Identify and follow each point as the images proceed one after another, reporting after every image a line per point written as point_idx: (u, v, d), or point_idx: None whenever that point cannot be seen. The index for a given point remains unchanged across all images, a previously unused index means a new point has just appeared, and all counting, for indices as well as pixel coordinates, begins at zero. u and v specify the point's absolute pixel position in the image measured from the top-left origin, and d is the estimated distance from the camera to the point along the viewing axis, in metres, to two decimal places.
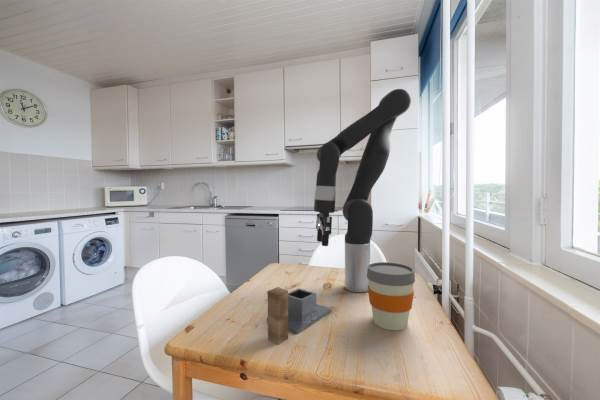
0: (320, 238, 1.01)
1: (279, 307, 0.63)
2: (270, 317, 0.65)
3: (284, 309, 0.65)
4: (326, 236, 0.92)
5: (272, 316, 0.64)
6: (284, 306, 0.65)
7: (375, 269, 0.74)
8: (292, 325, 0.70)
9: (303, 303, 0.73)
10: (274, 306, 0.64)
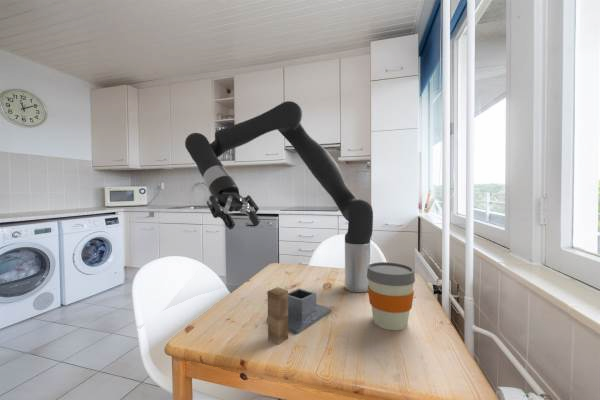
0: (254, 220, 0.76)
1: (279, 307, 0.63)
2: (270, 317, 0.65)
3: (284, 309, 0.65)
4: (223, 217, 0.70)
5: (272, 316, 0.64)
6: (284, 306, 0.65)
7: (375, 269, 0.74)
8: (292, 325, 0.70)
9: (303, 303, 0.73)
10: (274, 306, 0.64)
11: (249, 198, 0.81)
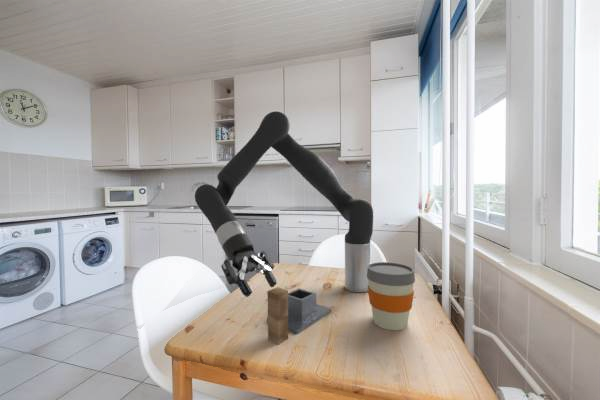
0: (270, 281, 0.72)
1: (279, 307, 0.63)
2: (270, 317, 0.65)
3: (284, 309, 0.65)
4: (239, 283, 0.66)
5: (272, 316, 0.64)
6: (284, 306, 0.65)
7: (375, 269, 0.74)
8: (292, 325, 0.70)
9: (303, 303, 0.73)
10: (274, 306, 0.64)
11: (264, 254, 0.77)
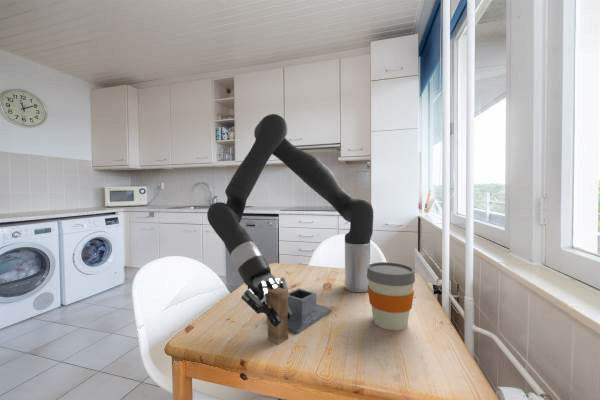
0: None
1: (279, 307, 0.63)
2: None
3: (284, 309, 0.65)
4: (267, 312, 0.63)
5: None
6: (284, 306, 0.65)
7: (375, 269, 0.74)
8: (292, 325, 0.70)
9: (303, 303, 0.73)
10: (274, 306, 0.64)
11: (282, 281, 0.72)
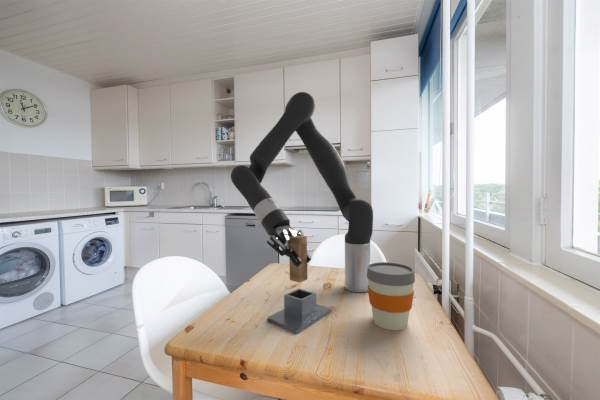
0: None
1: (300, 250, 0.72)
2: None
3: (304, 252, 0.74)
4: (290, 255, 0.72)
5: None
6: (304, 250, 0.74)
7: (375, 269, 0.74)
8: (292, 325, 0.70)
9: (303, 303, 0.73)
10: (295, 249, 0.73)
11: (300, 232, 0.81)
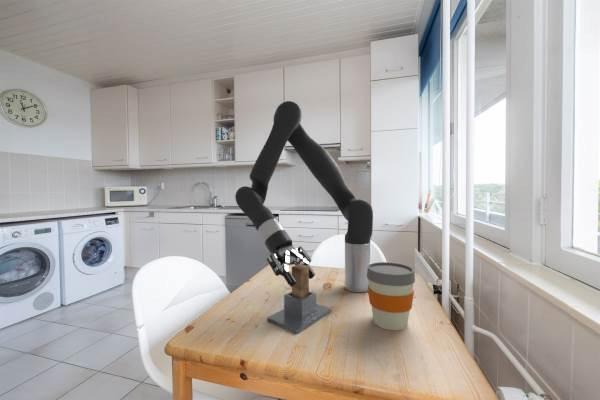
0: (309, 273, 0.80)
1: (302, 280, 0.75)
2: (294, 289, 0.77)
3: (306, 281, 0.77)
4: (285, 275, 0.74)
5: (296, 288, 0.76)
6: (306, 279, 0.77)
7: (375, 269, 0.74)
8: (292, 325, 0.70)
9: (303, 303, 0.73)
10: (297, 279, 0.76)
11: (301, 249, 0.84)
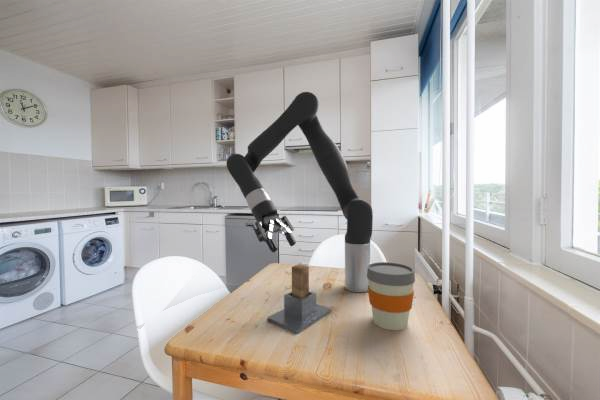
0: (290, 241, 0.87)
1: (302, 280, 0.75)
2: (294, 289, 0.77)
3: (306, 281, 0.77)
4: (268, 241, 0.80)
5: (296, 288, 0.76)
6: (306, 279, 0.77)
7: (375, 269, 0.74)
8: (292, 325, 0.70)
9: (303, 303, 0.73)
10: (297, 279, 0.76)
11: (285, 219, 0.90)
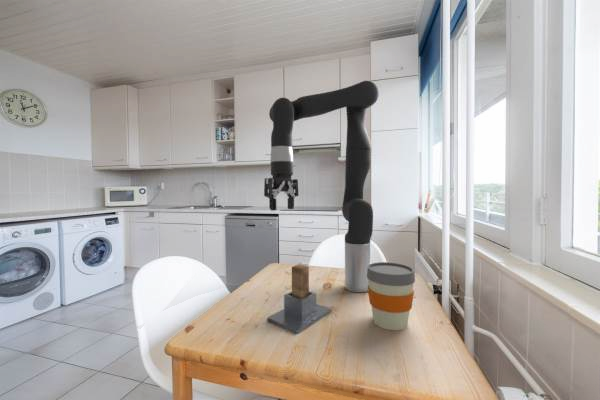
0: (290, 205, 0.93)
1: (302, 280, 0.75)
2: (294, 289, 0.77)
3: (306, 281, 0.77)
4: (271, 199, 0.86)
5: (296, 288, 0.76)
6: (306, 279, 0.77)
7: (375, 269, 0.74)
8: (292, 325, 0.70)
9: (303, 303, 0.73)
10: (297, 279, 0.76)
11: (296, 183, 0.93)
